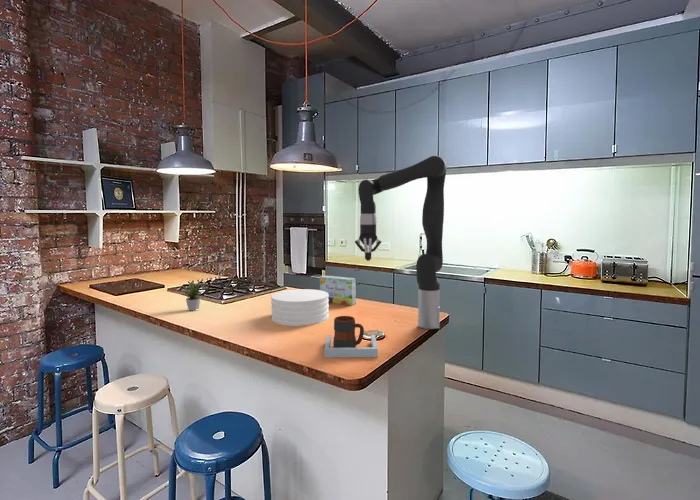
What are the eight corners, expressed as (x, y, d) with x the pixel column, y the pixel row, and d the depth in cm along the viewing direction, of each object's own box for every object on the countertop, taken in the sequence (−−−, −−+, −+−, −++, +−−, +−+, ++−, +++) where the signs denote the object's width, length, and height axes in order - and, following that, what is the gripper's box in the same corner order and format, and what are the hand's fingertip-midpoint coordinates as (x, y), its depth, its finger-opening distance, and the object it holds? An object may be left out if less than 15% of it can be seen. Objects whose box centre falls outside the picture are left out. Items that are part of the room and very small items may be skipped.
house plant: (215, 308, 205) (214, 278, 203) (194, 314, 192) (193, 283, 191) (197, 305, 211) (196, 277, 210) (176, 311, 199) (174, 281, 197)
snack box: (319, 302, 218) (319, 276, 217) (324, 300, 223) (324, 275, 222) (351, 306, 208) (351, 279, 207) (356, 303, 213) (356, 277, 212)
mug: (359, 355, 136) (359, 323, 135) (329, 350, 141) (329, 320, 139) (367, 347, 144) (367, 317, 143) (339, 343, 149) (338, 314, 147)
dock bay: (375, 342, 149) (375, 334, 149) (377, 357, 134) (377, 348, 134) (327, 342, 149) (327, 335, 149) (324, 357, 134) (324, 349, 134)
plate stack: (338, 320, 181) (338, 297, 180) (283, 329, 167) (282, 304, 166) (314, 307, 205) (314, 287, 204) (264, 315, 192) (263, 292, 190)
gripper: (352, 223, 172) (353, 261, 174) (381, 223, 170) (381, 261, 172) (355, 223, 180) (355, 259, 181) (383, 223, 177) (383, 259, 179)
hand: (368, 260), depth 177 cm, fingers closed
